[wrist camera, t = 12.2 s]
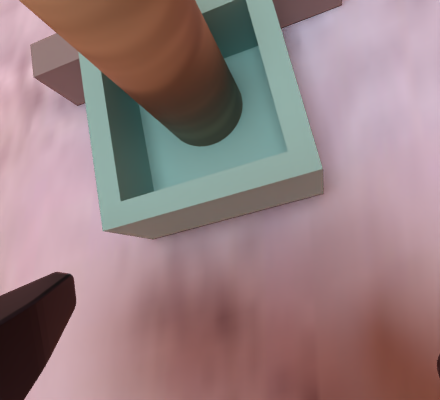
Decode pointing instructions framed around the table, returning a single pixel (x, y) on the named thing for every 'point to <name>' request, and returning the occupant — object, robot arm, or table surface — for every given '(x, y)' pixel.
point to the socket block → (213, 154)
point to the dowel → (154, 59)
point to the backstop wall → (70, 64)
